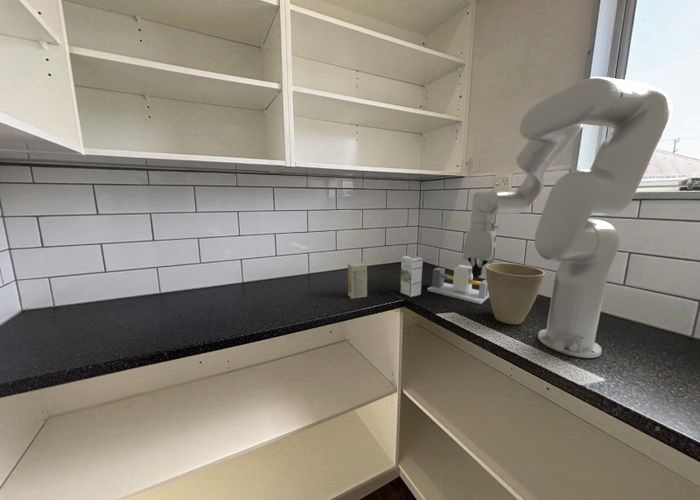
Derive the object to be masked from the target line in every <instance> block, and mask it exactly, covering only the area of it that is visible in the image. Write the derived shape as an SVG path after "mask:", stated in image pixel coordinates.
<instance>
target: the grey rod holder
mask: <svg viewBox="0 0 700 500" xmlns="http://www.w3.org/2000/svg"><path fill="white" fill-rule="evenodd" d="M445 272H446V268H443V267H435V268H434V269H432V277H431V278H432V279H431V280H432V281H431V286H429V287H427V289H426V290H427V292H431V293H435V294H439V295H443V296H446V297H451V298H454V299H459V300H463V301H466V302H470V303H474V304H478V305H482V304H483V303H484V302H485V301H486V300H488V299H489V293H488V287H487V279H483V280H482V281H479V280H478V281H477V280H469V279H468V283H470V284H472V285H476V286H479V288H478V289H475V288H472V289H470V290H469V291H467V292H462V291H458V290H454V289H453V283H448V282H445V280H451V281H453V279H454V275H449V273H448V274H446V273H445Z"/></svg>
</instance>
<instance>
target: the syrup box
mask: <svg viewBox="0 0 700 500" xmlns="http://www.w3.org/2000/svg"><path fill="white" fill-rule="evenodd" d="M423 261H424V260H423V257H420V256H416V255H413V254H412V255H411V254H410V255H404V256H401V262H400V263H401V267H400V291H399V293H400V294H403V295H405V296H406V297H408V298H409V297H410V298H413V296H414V297H417V296H420V295H421V294H422V276H423V275H422V273H423Z"/></svg>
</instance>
